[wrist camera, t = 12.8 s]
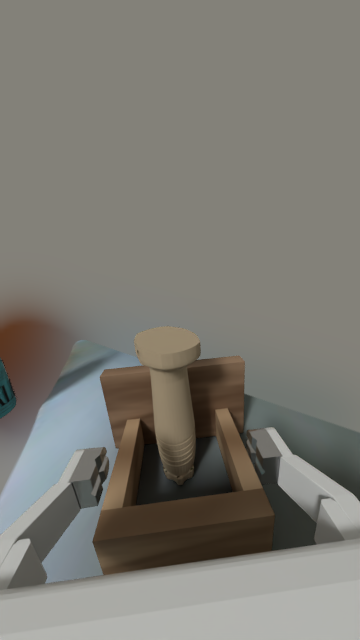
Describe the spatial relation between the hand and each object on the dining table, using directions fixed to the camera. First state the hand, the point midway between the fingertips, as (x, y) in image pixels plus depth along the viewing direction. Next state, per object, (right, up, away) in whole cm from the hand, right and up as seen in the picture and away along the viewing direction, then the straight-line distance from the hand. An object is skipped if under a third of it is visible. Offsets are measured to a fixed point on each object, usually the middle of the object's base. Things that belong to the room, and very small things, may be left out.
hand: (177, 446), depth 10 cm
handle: (0, -9, +8) cm, 12 cm away
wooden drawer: (0, -9, +8) cm, 12 cm away
